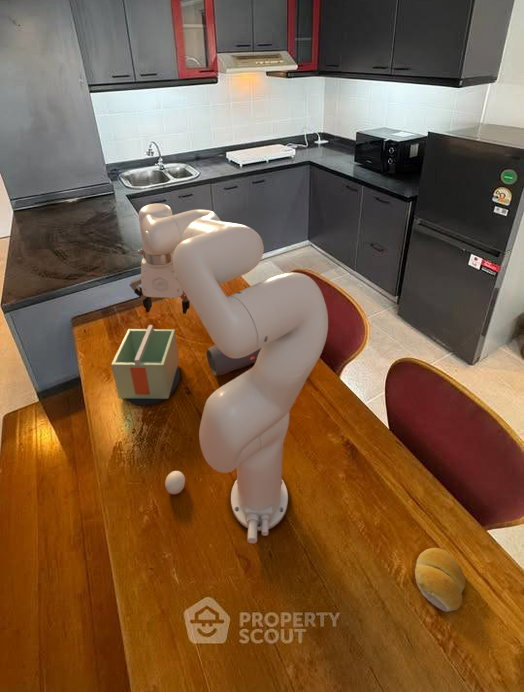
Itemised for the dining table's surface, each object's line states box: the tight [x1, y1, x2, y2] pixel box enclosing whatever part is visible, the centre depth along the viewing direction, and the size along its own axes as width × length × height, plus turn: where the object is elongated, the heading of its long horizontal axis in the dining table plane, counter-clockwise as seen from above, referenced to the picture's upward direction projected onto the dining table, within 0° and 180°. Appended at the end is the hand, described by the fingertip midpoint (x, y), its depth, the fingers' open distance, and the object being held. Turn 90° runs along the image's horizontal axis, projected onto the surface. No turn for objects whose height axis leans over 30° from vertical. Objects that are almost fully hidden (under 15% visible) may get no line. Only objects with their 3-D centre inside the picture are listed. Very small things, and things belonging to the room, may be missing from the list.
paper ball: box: [164, 470, 186, 495], centre depth 85 cm, size 4×4×4 cm
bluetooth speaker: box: [206, 344, 261, 377], centre depth 118 cm, size 23×9×10 cm, turn 118°
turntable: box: [124, 366, 181, 407], centre depth 113 cm, size 17×17×1 cm
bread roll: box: [414, 547, 466, 613], centre depth 71 cm, size 8×9×4 cm
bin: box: [110, 324, 180, 400], centre depth 110 cm, size 14×14×14 cm
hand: (167, 309), depth 100 cm, fingers open, 9 cm apart
